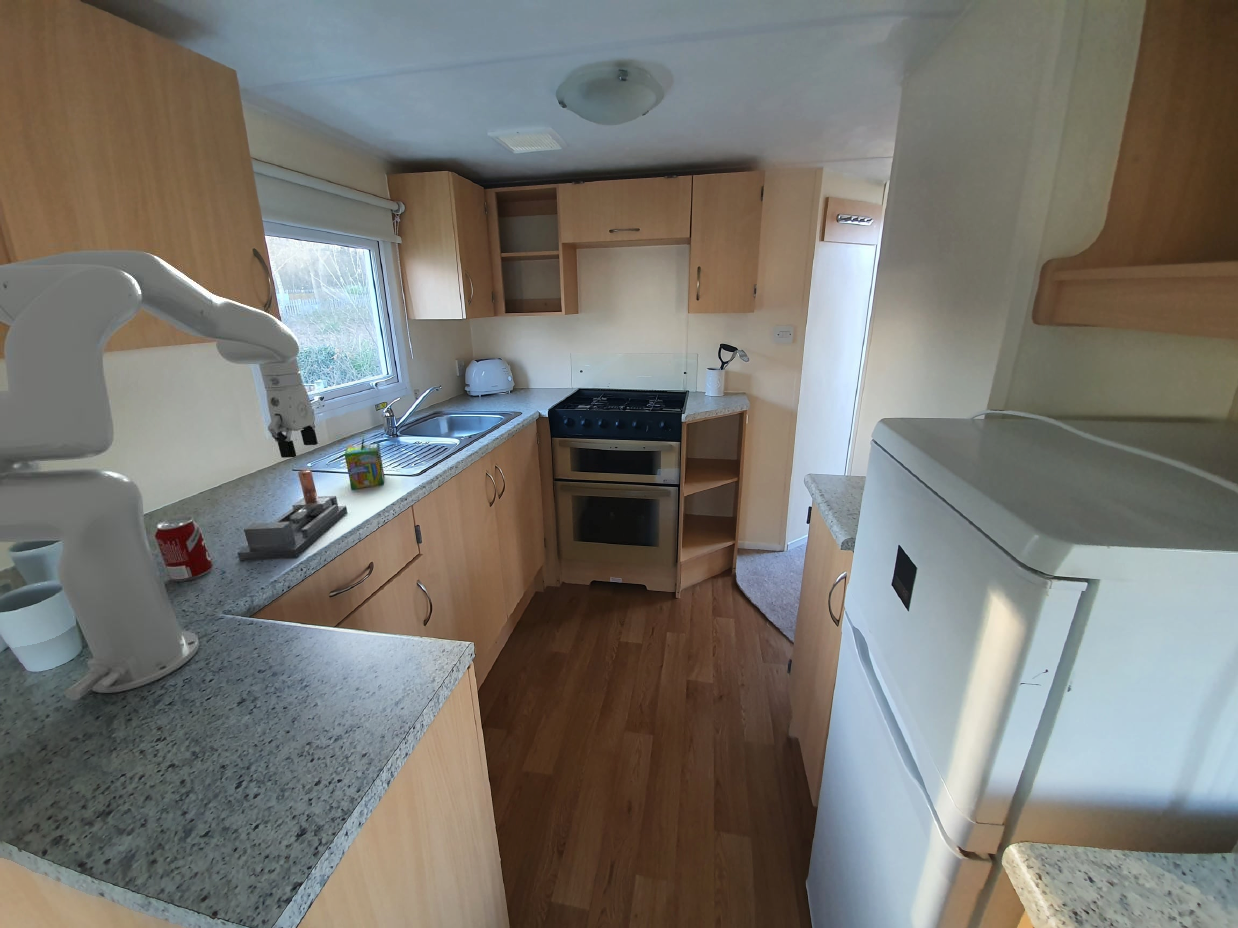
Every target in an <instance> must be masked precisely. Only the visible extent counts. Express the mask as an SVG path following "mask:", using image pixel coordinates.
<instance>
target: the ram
mask: <svg viewBox="0 0 1238 928" xmlns="http://www.w3.org/2000/svg"><path fill="white" fill-rule="evenodd" d="M297 474H298V478H299V482H300V486H301V490H302V494H303V498H304V499H302V498H300V499H299V500H297V501H296V502H295V503H293V504H292V506H291V507H292V508H293V510H294V514H293V515H292V516H291V517H290V521H291V522H292V523H293V524H298V523H300V522H301V521H302V520H304V519H305V518H306V517H308V516H309V515H320V514H321V513H322V512H324V511H325V510H326V509H327V508H329V507H330V506H331V505H332V501H331V498H318V497H319V496H318V493H317V489H316V485H315V480H314V477H313V473H312V469H305V470H300V471H298V472H297Z"/></svg>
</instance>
